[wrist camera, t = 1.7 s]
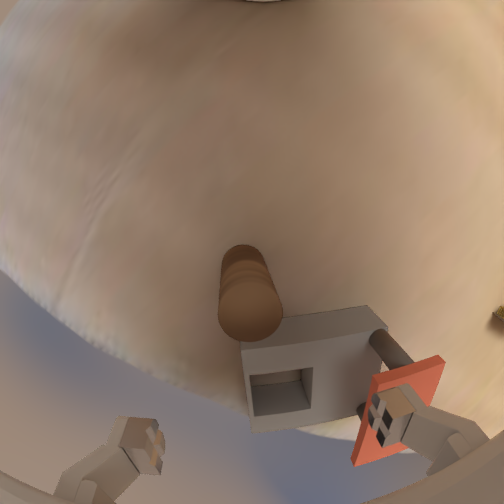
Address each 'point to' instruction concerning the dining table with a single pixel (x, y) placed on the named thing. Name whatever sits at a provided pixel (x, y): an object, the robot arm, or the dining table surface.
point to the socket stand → (332, 374)
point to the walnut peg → (247, 296)
